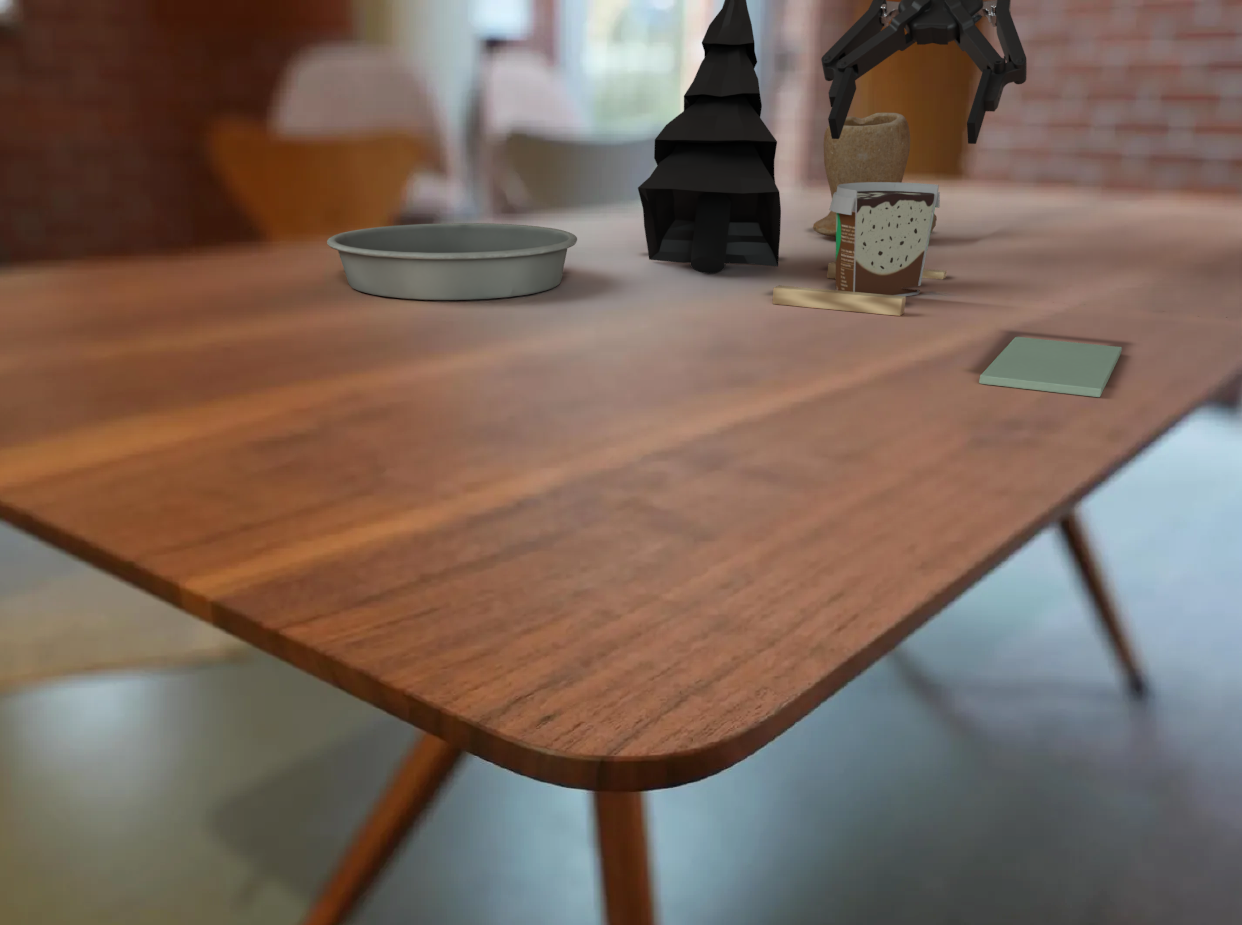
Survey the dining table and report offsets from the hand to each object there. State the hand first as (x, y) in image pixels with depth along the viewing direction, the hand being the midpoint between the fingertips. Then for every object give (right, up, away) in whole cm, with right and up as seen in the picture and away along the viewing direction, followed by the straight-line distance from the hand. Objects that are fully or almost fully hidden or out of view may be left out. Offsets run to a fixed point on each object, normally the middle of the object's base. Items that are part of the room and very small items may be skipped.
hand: (900, 131), depth 114 cm
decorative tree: (-17, -8, +16) cm, 25 cm away
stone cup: (+5, +1, +36) cm, 36 cm away
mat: (+4, -30, -28) cm, 41 cm away
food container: (-4, -16, 0) cm, 17 cm away
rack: (-4, -16, -1) cm, 17 cm away
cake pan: (-44, -14, +3) cm, 46 cm away
